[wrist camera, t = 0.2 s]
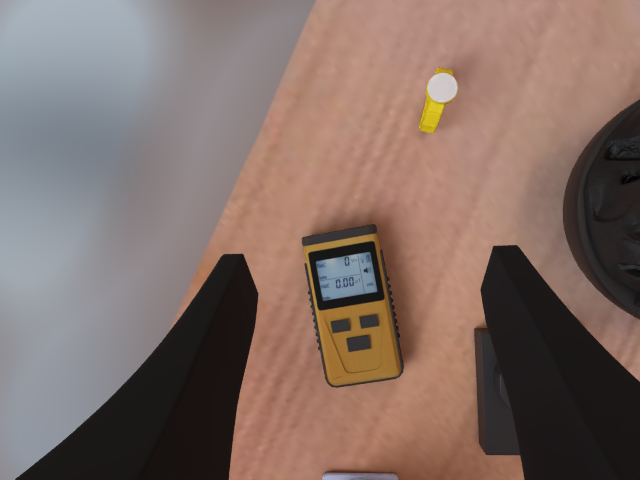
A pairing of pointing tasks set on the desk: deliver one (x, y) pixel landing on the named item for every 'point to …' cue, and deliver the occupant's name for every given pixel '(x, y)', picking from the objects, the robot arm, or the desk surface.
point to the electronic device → (352, 307)
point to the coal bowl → (608, 210)
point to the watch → (437, 98)
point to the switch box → (493, 401)
